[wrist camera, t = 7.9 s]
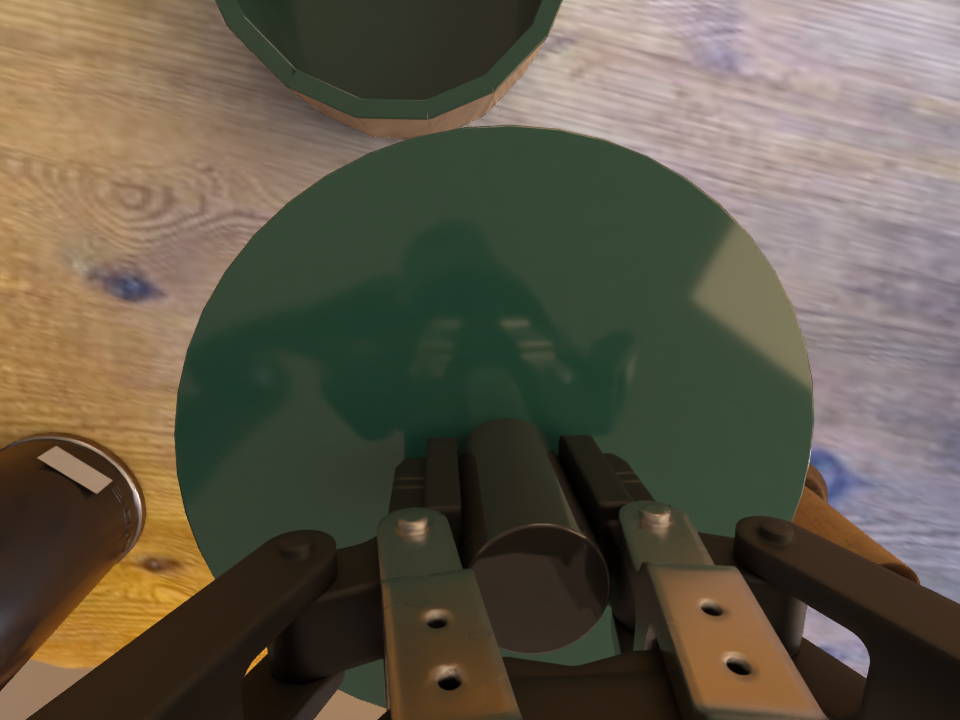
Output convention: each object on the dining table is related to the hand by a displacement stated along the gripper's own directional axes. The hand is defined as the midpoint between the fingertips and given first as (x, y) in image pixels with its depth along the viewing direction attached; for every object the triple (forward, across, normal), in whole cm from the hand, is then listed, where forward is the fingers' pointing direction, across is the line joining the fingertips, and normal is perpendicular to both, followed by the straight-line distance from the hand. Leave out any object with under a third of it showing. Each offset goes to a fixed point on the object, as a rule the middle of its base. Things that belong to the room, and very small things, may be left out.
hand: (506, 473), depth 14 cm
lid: (+1, 0, 0) cm, 1 cm away
